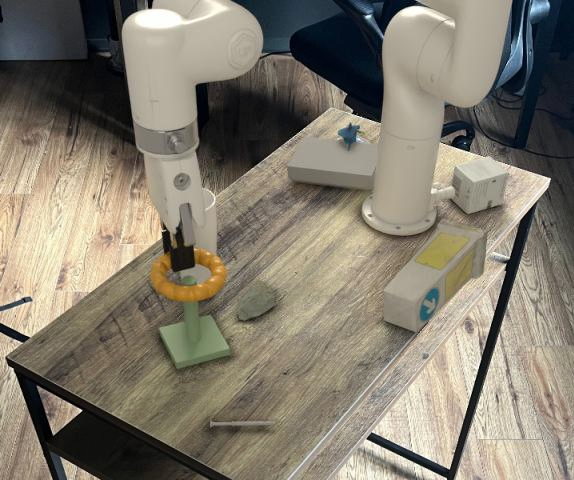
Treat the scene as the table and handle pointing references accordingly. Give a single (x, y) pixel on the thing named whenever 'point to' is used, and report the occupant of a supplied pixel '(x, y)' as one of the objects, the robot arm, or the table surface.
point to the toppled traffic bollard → (435, 274)
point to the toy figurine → (350, 134)
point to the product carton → (479, 184)
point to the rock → (256, 302)
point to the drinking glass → (205, 238)
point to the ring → (189, 292)
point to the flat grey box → (334, 163)
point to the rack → (193, 336)
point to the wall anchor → (243, 423)
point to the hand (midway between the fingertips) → (179, 261)
